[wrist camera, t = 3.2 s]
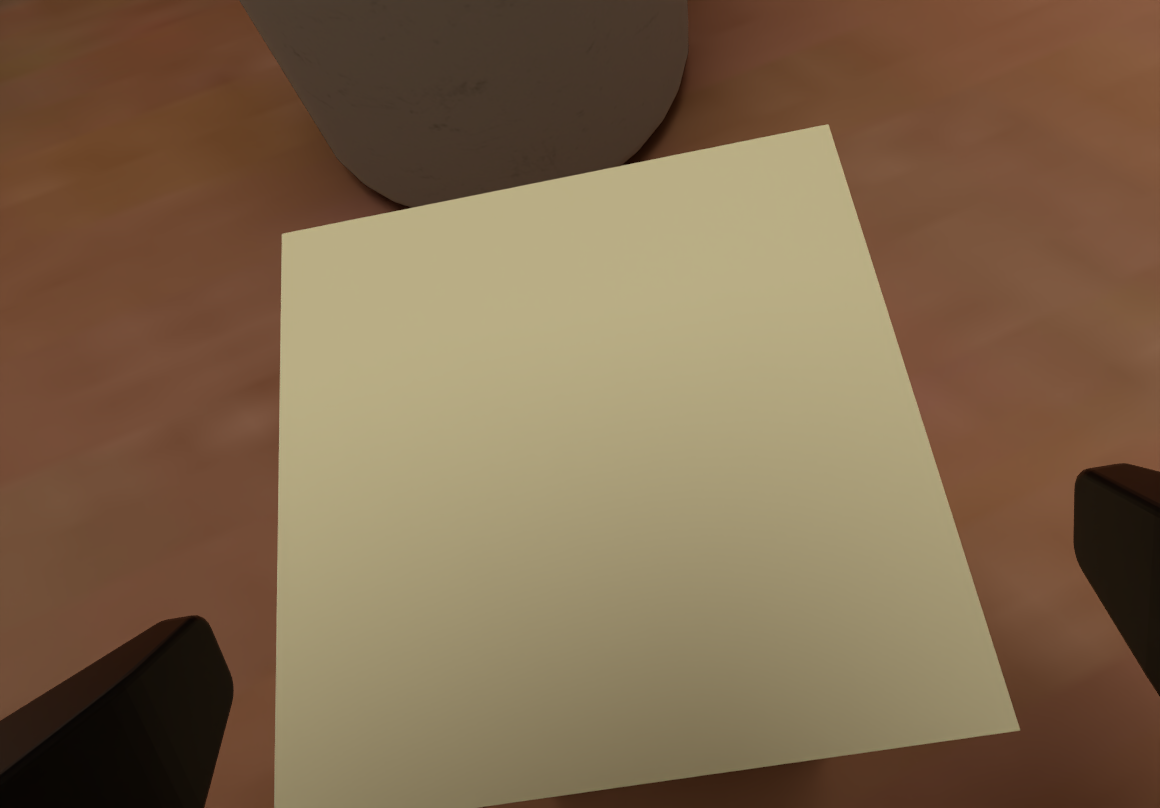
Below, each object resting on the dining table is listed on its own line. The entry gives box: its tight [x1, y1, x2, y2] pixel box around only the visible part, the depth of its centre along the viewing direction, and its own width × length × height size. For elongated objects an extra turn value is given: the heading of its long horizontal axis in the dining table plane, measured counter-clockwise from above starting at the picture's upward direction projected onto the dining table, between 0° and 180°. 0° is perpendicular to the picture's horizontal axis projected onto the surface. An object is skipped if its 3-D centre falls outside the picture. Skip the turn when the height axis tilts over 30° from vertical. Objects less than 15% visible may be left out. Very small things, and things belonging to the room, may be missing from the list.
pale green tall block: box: [274, 124, 1020, 808], centre depth 12 cm, size 5×5×11 cm
